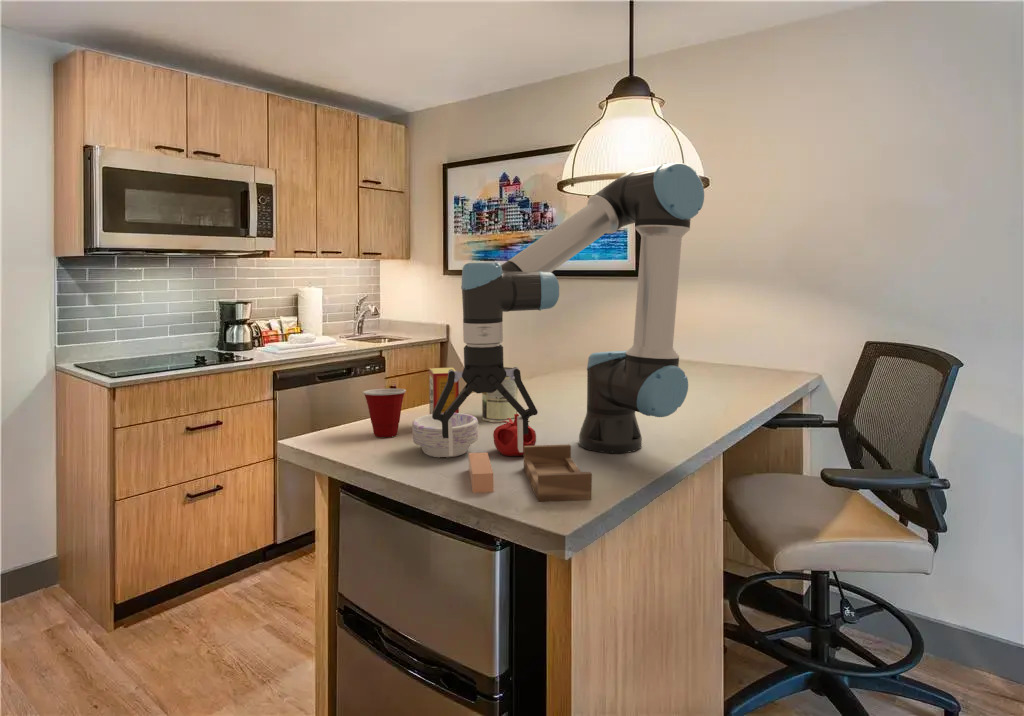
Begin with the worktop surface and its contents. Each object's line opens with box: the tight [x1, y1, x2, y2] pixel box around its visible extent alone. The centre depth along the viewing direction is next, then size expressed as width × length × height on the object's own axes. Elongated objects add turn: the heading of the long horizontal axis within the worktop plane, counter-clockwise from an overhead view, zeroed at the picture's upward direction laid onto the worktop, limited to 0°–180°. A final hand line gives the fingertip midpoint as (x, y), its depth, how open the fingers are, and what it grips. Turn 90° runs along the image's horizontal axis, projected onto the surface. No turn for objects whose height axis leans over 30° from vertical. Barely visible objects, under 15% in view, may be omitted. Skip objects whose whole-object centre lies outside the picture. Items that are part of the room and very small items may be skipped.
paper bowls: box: [411, 412, 479, 458], centre depth 151 cm, size 15×15×8 cm
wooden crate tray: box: [523, 444, 593, 503], centre depth 130 cm, size 20×10×5 cm, turn 7°
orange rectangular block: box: [468, 452, 494, 494], centre depth 132 cm, size 14×4×4 cm, turn 7°
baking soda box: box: [428, 367, 460, 415], centre depth 173 cm, size 10×6×16 cm
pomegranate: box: [492, 413, 537, 457], centre depth 151 cm, size 10×10×9 cm
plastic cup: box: [362, 388, 407, 438], centre depth 165 cm, size 11×11×12 cm
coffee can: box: [481, 366, 519, 424], centre depth 184 cm, size 10×10×14 cm
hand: (485, 452), depth 126 cm, fingers open, 13 cm apart
